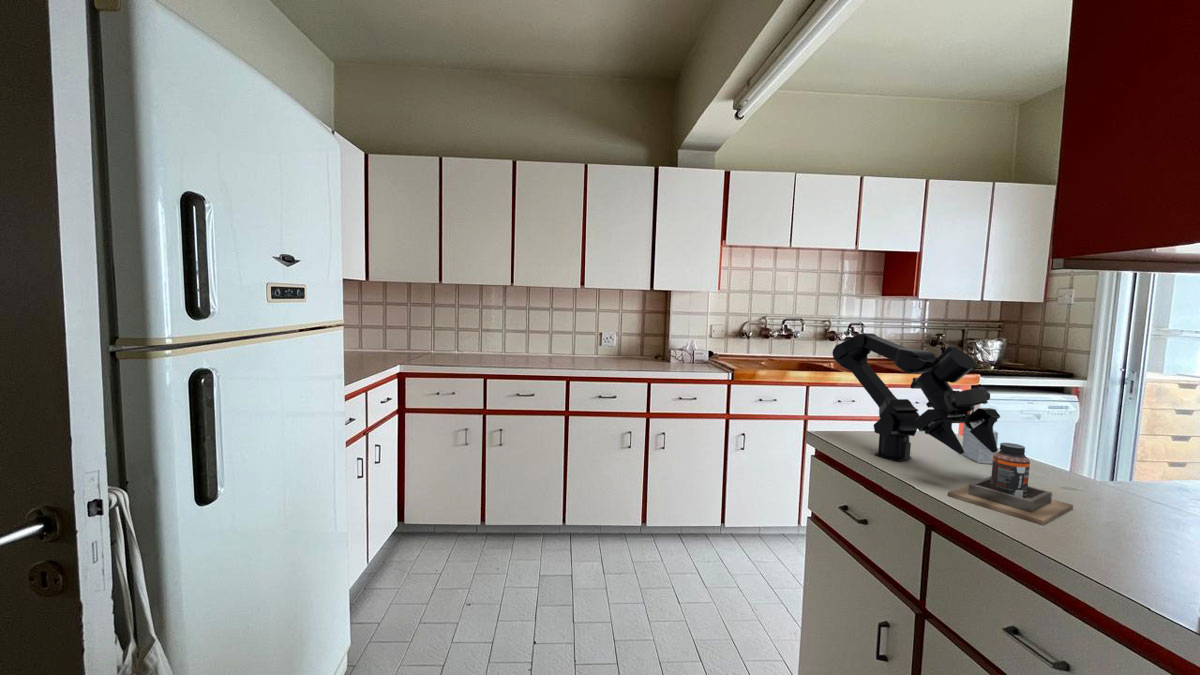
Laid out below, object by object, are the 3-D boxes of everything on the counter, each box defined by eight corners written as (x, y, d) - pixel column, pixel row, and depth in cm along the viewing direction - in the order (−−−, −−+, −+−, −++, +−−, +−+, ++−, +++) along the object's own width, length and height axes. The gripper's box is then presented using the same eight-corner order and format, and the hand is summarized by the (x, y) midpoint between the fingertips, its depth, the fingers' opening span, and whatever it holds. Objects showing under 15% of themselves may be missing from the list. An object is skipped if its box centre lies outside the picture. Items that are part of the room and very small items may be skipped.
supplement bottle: (1029, 506, 101) (1034, 450, 100) (992, 499, 104) (997, 445, 103) (1022, 496, 106) (1027, 444, 105) (987, 490, 109) (991, 439, 108)
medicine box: (996, 464, 130) (999, 432, 130) (977, 463, 131) (980, 431, 131) (978, 456, 138) (981, 425, 138) (961, 454, 139) (963, 423, 138)
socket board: (947, 495, 107) (948, 481, 107) (980, 483, 115) (981, 470, 115) (1042, 525, 93) (1044, 509, 93) (1072, 508, 102) (1074, 494, 102)
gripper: (930, 374, 113) (971, 435, 103) (996, 374, 117) (1042, 433, 107) (899, 401, 121) (935, 460, 111) (961, 400, 125) (1001, 457, 115)
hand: (979, 452), depth 111 cm, fingers open, 9 cm apart
